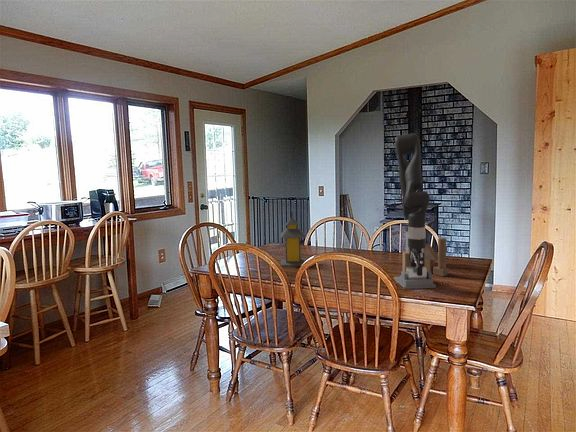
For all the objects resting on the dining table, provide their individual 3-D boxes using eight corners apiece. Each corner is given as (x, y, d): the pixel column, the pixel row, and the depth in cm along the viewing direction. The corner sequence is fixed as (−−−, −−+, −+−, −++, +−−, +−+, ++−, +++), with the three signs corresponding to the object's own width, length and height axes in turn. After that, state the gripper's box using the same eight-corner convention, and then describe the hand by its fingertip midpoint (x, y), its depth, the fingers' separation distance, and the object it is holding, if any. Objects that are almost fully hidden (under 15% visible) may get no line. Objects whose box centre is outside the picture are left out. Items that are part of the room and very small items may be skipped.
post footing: (393, 278, 209) (393, 251, 207) (423, 277, 209) (423, 250, 207) (403, 289, 192) (403, 259, 190) (435, 287, 192) (436, 258, 191)
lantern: (280, 266, 240) (278, 211, 236) (280, 261, 254) (279, 209, 250) (306, 266, 240) (305, 210, 236) (305, 260, 254) (303, 208, 250)
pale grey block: (406, 282, 199) (406, 267, 198) (423, 281, 199) (424, 266, 198) (408, 284, 195) (408, 268, 194) (426, 283, 195) (426, 268, 194)
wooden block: (428, 271, 220) (428, 235, 218) (447, 275, 212) (448, 238, 210) (423, 272, 218) (424, 236, 216) (443, 276, 210) (443, 239, 208)
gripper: (403, 234, 201) (403, 269, 203) (413, 240, 187) (412, 277, 189) (420, 234, 201) (419, 269, 203) (430, 239, 187) (430, 277, 189)
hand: (416, 273), depth 196 cm, fingers open, 8 cm apart
